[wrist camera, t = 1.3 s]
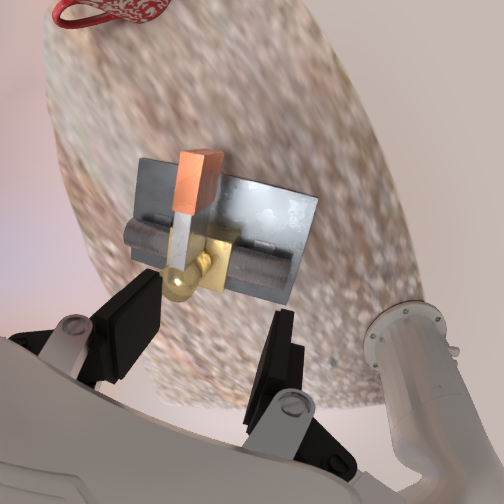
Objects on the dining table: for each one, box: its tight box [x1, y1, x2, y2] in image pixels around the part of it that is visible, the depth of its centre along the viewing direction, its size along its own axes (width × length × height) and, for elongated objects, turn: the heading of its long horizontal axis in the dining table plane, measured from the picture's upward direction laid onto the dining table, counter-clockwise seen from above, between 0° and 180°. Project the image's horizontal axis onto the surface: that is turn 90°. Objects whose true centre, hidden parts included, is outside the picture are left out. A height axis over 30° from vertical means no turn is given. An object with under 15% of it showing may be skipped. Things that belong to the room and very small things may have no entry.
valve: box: [123, 158, 318, 305], centre depth 34 cm, size 22×14×5 cm, turn 78°
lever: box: [160, 149, 225, 302], centre depth 27 cm, size 14×4×6 cm, turn 168°
